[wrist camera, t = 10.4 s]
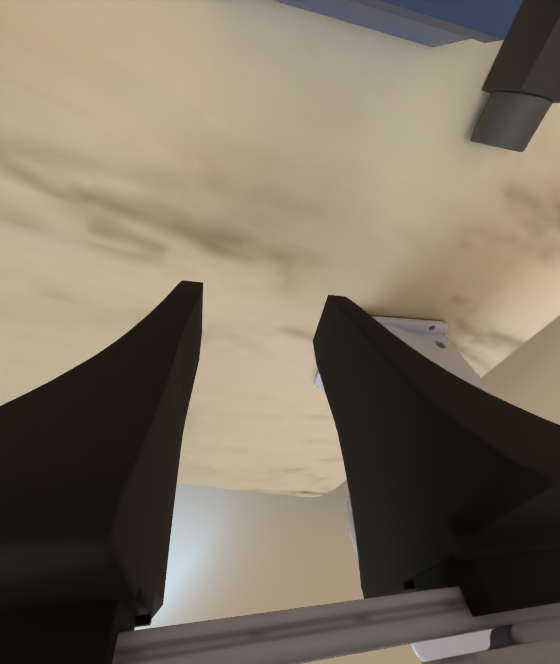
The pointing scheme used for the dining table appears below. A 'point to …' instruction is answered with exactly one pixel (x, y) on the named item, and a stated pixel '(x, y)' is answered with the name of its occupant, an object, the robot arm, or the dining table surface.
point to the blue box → (423, 17)
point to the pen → (523, 78)
